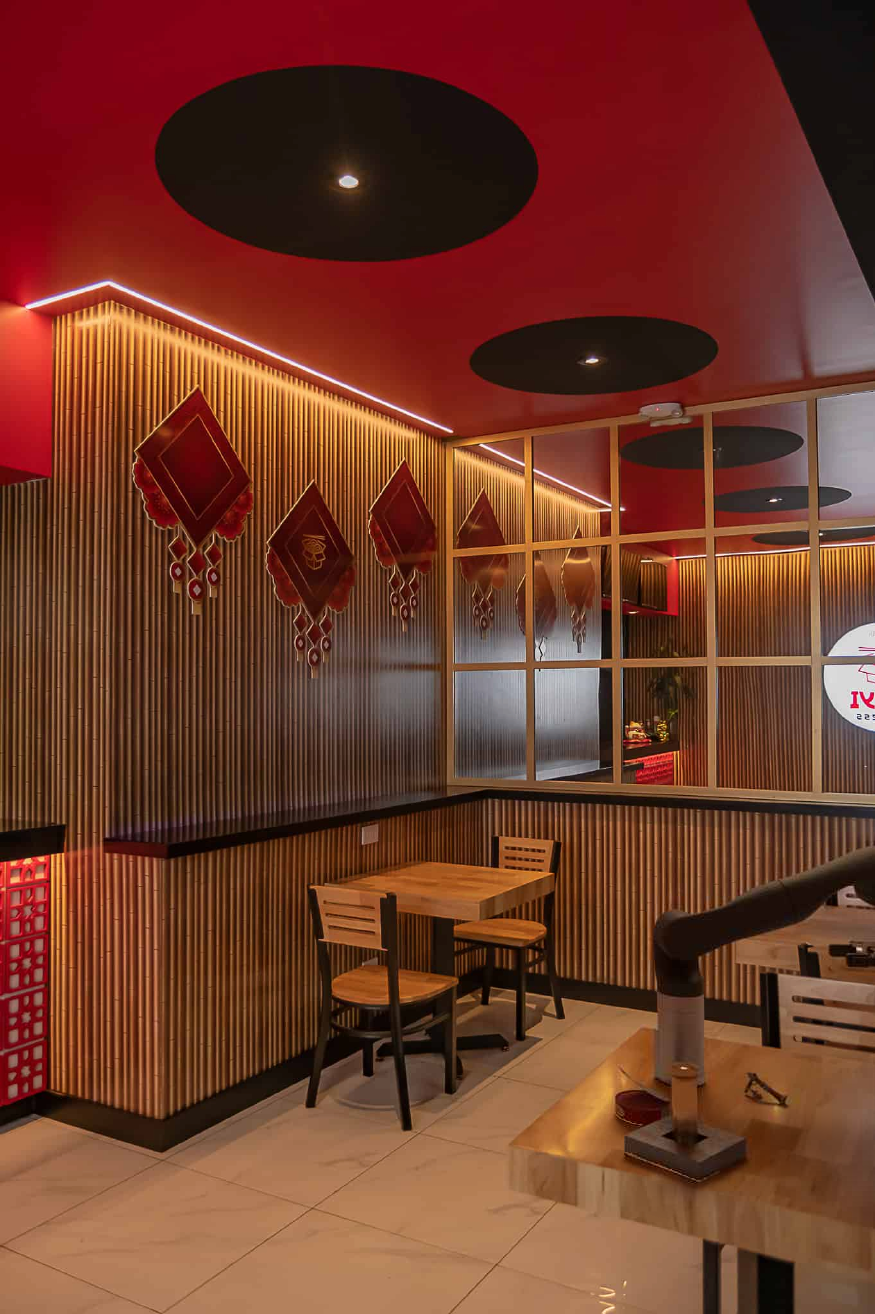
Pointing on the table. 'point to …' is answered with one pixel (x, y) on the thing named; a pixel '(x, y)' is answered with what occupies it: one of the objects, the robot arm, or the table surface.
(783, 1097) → the brown turned rod
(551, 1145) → the table surface
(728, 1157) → the jig
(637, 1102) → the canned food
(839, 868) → the robot arm
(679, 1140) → the bushing
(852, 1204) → the table surface
